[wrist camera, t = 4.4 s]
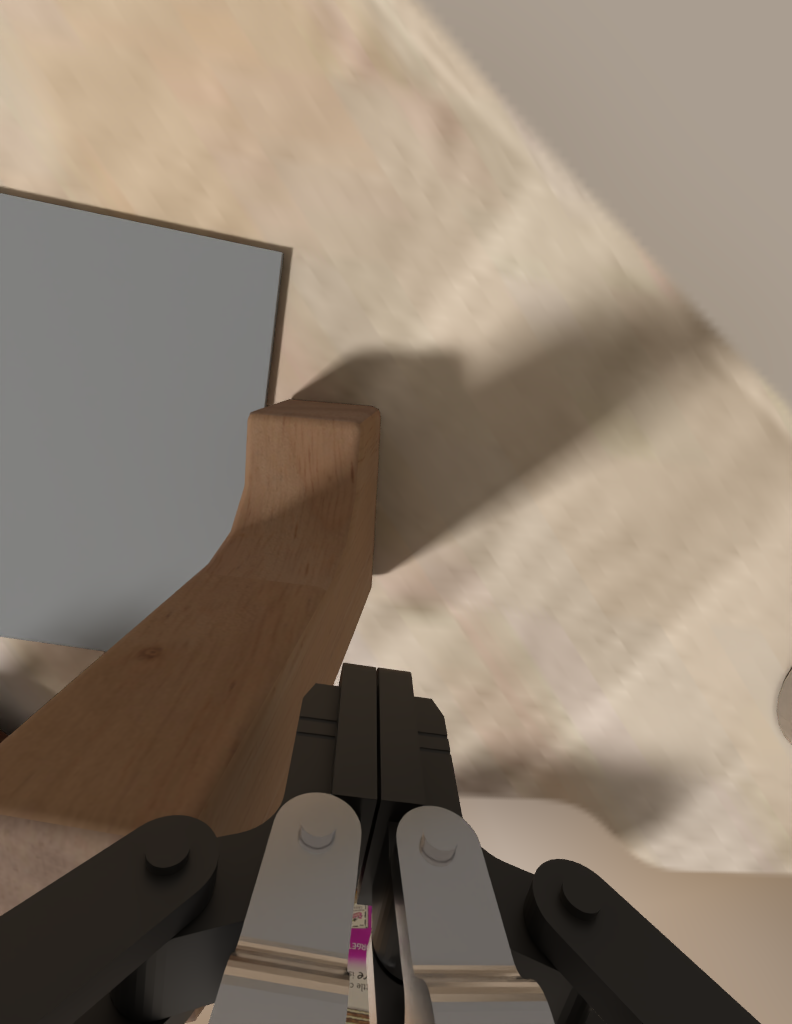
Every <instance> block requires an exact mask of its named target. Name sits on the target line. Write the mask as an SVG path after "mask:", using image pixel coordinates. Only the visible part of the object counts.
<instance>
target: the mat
mask: <svg viewBox="0 0 792 1024" xmlns="http://www.w3.org/2000/svg"><path fill="white" fill-rule="evenodd" d="M283 255H284V254H283V253H282V252H277V251H273V250H268V249H263V248H258V247H254V246H249V245H244V244H239V243H235V242H230V241H225V240H221V239H216V238H211V237H206V236H202V235H197V234H192V233H187V232H183V231H178V230H173V229H168V228H164V227H159V226H154V225H149V224H145V223H140V222H135V221H130V220H126V219H121V218H116V217H111V216H107V215H102V214H97V213H92V212H88V211H83V210H78V209H73V208H69V207H64V206H59V205H54V204H50V203H45V202H40V201H35V200H31V199H26V198H21V197H16V196H12V195H7V194H2V193H0V637H7V638H14V639H21V640H28V641H35V642H42V643H49V644H56V645H64V646H71V647H78V648H85V649H92V650H99V651H106V652H107V651H108V650H109V649H110V648H111V647H112V646H114V645H115V644H116V643H117V642H118V641H119V640H120V639H122V638H123V637H124V636H125V635H126V634H127V633H129V632H130V631H131V630H132V629H133V628H134V627H136V626H137V625H138V624H139V623H140V622H141V621H142V620H144V619H145V618H146V617H147V616H148V615H149V614H151V613H152V612H153V611H154V610H155V609H156V608H158V607H159V606H160V605H161V604H162V603H163V602H165V601H166V600H167V599H168V598H169V597H170V596H171V595H173V594H174V593H175V592H176V591H177V590H178V589H180V588H181V587H182V586H183V585H184V584H185V583H187V582H188V581H189V580H190V579H191V578H192V577H194V576H195V575H196V574H197V573H198V572H199V571H200V570H202V569H203V568H204V567H205V566H206V565H207V564H208V563H209V562H210V560H211V559H212V558H213V556H214V555H215V553H216V552H217V550H218V549H219V547H220V546H221V545H222V543H223V542H224V540H225V539H226V537H227V536H228V534H229V533H230V532H231V529H232V525H233V522H234V519H235V515H236V512H237V509H238V505H239V502H240V499H241V496H242V492H243V489H244V485H245V464H246V442H247V421H248V417H249V415H250V412H253V411H255V410H258V409H261V408H264V407H266V402H267V394H268V385H269V376H270V368H271V359H272V350H273V342H274V333H275V324H276V316H277V307H278V298H279V290H280V281H281V272H282V264H283Z"/></svg>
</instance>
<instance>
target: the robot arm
mask: <svg viewBox="0 0 792 1024" xmlns="http://www.w3.org/2000/svg"><path fill="white" fill-rule="evenodd" d="M777 715H778V722H779V726H780V728H781V730H782V732H783V734H784V736H785V738H786V739H787V740H788V741H789V742H790V743H791V744H792V669H791V671H790V673H789V674H788V676H787V678H786V679H785V681H784V683H783V686H782V688H781V691H780V694H779V697H778V706H777ZM356 889H357V904H358V905H368V906H372V930H371V934H370V938H369V942H368V947H367V952H366V966H367V984H368V1002H369V1020H370V1024H761V1023H759V1022H758V1021H757V1020H756V1019H755V1018H754V1017H753V1016H752V1015H751V1014H750V1013H749V1012H747V1011H746V1010H745V1009H744V1008H743V1007H742V1006H741V1005H740V1004H739V1003H737V1001H735V1000H734V999H733V998H732V997H731V996H730V995H729V994H728V993H727V992H725V991H724V990H723V989H722V988H721V987H720V986H719V985H718V984H717V983H716V982H715V981H714V980H712V979H711V978H710V977H709V976H708V975H707V974H706V973H705V972H704V971H702V970H701V969H700V968H699V967H698V966H697V965H696V964H695V963H694V962H693V961H692V960H690V959H689V958H688V957H687V956H686V955H685V954H684V953H683V952H682V951H680V949H678V948H677V947H676V946H675V945H674V944H673V943H672V942H671V941H670V940H669V939H667V938H666V937H665V936H664V935H663V934H662V933H661V932H660V931H659V930H658V929H656V928H655V927H654V926H653V925H652V924H651V923H650V922H649V921H648V920H647V919H646V918H644V917H643V916H642V915H641V914H640V913H639V912H638V911H637V910H636V909H635V908H633V907H632V906H631V905H630V904H629V903H628V902H627V901H626V900H625V899H624V898H623V897H621V896H620V895H619V894H618V893H617V892H616V891H615V890H614V889H613V888H612V887H610V886H609V885H608V884H607V883H606V882H605V881H604V880H603V879H602V878H600V877H599V876H598V875H597V874H596V873H594V872H593V871H591V870H590V869H588V868H587V867H585V866H583V865H581V864H579V863H576V862H573V861H569V860H565V859H555V860H550V861H547V862H545V863H543V864H542V865H541V866H540V867H539V868H538V869H537V870H536V873H535V874H532V873H529V872H527V871H524V870H522V869H520V868H517V867H515V866H513V865H510V864H508V863H505V862H503V861H501V860H499V859H497V858H495V857H494V856H492V855H491V854H489V853H488V852H487V851H486V850H484V849H483V848H482V847H481V846H480V842H479V840H478V837H477V835H476V833H475V832H474V830H473V829H472V828H471V826H470V825H469V824H468V823H467V822H466V821H465V820H464V819H463V817H462V813H461V807H460V802H459V796H458V791H457V785H456V780H455V774H454V769H453V763H452V758H451V755H450V747H449V741H448V739H447V730H446V725H445V719H444V716H443V714H442V713H441V712H440V710H439V709H438V707H437V706H436V704H435V703H434V702H433V700H432V699H428V698H421V697H414V693H413V684H412V676H411V672H406V671H399V670H392V669H385V668H378V669H377V671H376V667H370V666H363V665H356V664H349V663H343V666H342V671H341V676H340V681H339V686H333V685H326V684H318V683H315V685H314V686H313V687H312V688H311V689H310V690H309V691H308V692H307V694H306V695H305V696H304V697H303V700H302V705H301V710H300V716H299V721H298V726H297V731H296V736H295V742H294V747H293V752H292V757H291V762H290V768H289V773H288V778H287V783H286V788H285V793H284V797H283V801H282V803H281V805H280V807H279V808H278V809H277V811H276V812H275V813H274V814H273V815H272V816H271V817H270V818H269V819H268V820H267V821H265V822H264V823H263V824H261V825H259V826H257V827H256V828H253V829H251V830H248V831H245V832H241V833H237V834H231V835H226V836H221V837H216V835H215V833H214V832H213V830H212V829H211V828H210V827H209V826H208V825H207V824H206V823H204V822H203V821H201V820H199V819H197V818H194V817H191V816H185V815H170V816H164V817H160V818H156V819H154V820H152V821H149V822H147V823H145V824H143V825H142V826H140V827H138V828H137V829H135V830H134V831H132V832H130V833H129V834H127V835H126V836H124V837H123V838H121V839H120V840H118V841H116V842H115V843H113V844H112V845H110V846H109V847H107V848H106V849H104V850H102V851H101V852H99V853H98V854H96V855H95V856H93V857H92V858H90V859H88V860H87V861H85V862H84V863H82V864H81V865H79V866H78V867H76V868H74V869H73V870H71V871H70V872H68V873H67V874H65V875H64V876H62V877H60V878H59V879H57V880H56V881H54V882H53V883H51V884H50V885H48V886H46V887H45V888H43V889H42V890H40V891H39V892H37V893H36V894H34V895H32V896H31V897H29V898H28V899H26V900H25V901H23V902H22V903H20V904H18V905H17V906H15V907H14V908H12V909H11V910H9V911H8V912H6V913H4V914H3V915H1V916H0V1024H184V1023H185V1022H186V1021H187V1020H188V1019H189V1018H190V1016H191V1015H192V1013H193V1012H194V1010H195V1009H196V1008H200V1007H203V1006H206V1005H209V1004H212V1003H215V1004H214V1007H213V1010H212V1014H211V1017H210V1020H209V1024H346V1017H347V1007H348V996H349V982H350V974H349V972H348V971H347V966H348V954H349V945H350V936H351V927H352V918H353V909H354V899H355V893H356Z"/></svg>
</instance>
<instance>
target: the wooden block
mask: <svg viewBox="0 0 792 1024" xmlns="http://www.w3.org/2000/svg"><path fill="white" fill-rule="evenodd" d="M380 424H381V415H380V412H379V409H377V408H375V407H373V406H365V405H352V404H340V403H328V402H316V401H303V400H291V399H289V400H286V401H283V402H280V403H277V404H274V405H270V406H267V407H264V408H261V409H258V410H255V411H253V412H250V415H249V417H248V421H247V442H246V464H245V485H244V489H243V492H242V496H241V499H240V502H239V505H238V509H237V512H236V515H235V519H234V522H233V525H232V529H231V532H230V533H229V534H228V536H227V537H226V539H225V540H224V542H223V543H222V545H221V546H220V547H219V549H218V550H217V552H216V553H215V555H214V556H213V558H212V559H211V560H210V562H209V563H208V564H207V565H206V566H205V567H204V568H203V569H202V570H200V571H199V572H198V573H197V574H196V575H195V576H194V577H192V578H191V579H190V580H189V581H188V582H187V583H185V584H184V585H183V586H182V587H181V588H180V589H178V590H177V591H176V592H175V593H174V594H173V595H171V596H170V597H169V598H168V599H167V600H166V601H165V602H163V603H162V604H161V605H160V606H159V607H158V608H156V609H155V610H154V611H153V612H152V613H151V614H149V615H148V616H147V617H146V618H145V619H144V620H142V621H141V622H140V623H139V624H138V625H137V626H136V627H134V628H133V629H132V630H131V631H130V632H129V633H127V634H126V635H125V636H124V637H123V638H122V639H120V640H119V641H118V642H117V643H116V644H115V645H114V646H112V647H111V648H110V649H109V650H108V651H107V652H105V653H104V654H103V655H102V656H101V657H100V658H98V659H97V660H96V661H95V662H94V663H93V664H91V665H90V666H89V667H88V668H87V669H86V670H85V671H83V672H82V673H81V674H80V675H79V676H78V677H76V678H75V679H74V680H73V681H72V682H71V683H69V684H68V685H67V686H66V687H65V688H64V689H63V690H61V691H60V692H59V693H58V694H57V695H56V696H54V697H53V698H52V699H51V700H50V701H49V702H47V703H46V704H45V705H44V706H43V707H42V708H40V709H39V710H38V711H37V712H36V713H35V714H34V715H32V716H31V717H30V718H29V719H28V720H27V721H25V722H24V723H23V724H22V725H21V726H20V727H18V728H17V729H16V730H15V731H14V732H13V733H12V734H10V735H9V736H8V737H7V738H6V739H5V740H3V741H2V742H1V743H0V916H1V915H3V914H4V913H6V912H8V911H9V910H11V909H12V908H14V907H15V906H17V905H18V904H20V903H22V902H23V901H25V900H26V899H28V898H29V897H31V896H32V895H34V894H36V893H37V892H39V891H40V890H42V889H43V888H45V887H46V886H48V885H50V884H51V883H53V882H54V881H56V880H57V879H59V878H60V877H62V876H64V875H65V874H67V873H68V872H70V871H71V870H73V869H74V868H76V867H78V866H79V865H81V864H82V863H84V862H85V861H87V860H88V859H90V858H92V857H93V856H95V855H96V854H98V853H99V852H101V851H102V850H104V849H106V848H107V847H109V846H110V845H112V844H113V843H115V842H116V841H118V840H120V839H121V838H123V837H124V836H126V835H127V834H129V833H130V832H132V831H134V830H135V829H137V828H138V827H140V826H142V825H143V824H145V823H147V822H149V821H152V820H154V819H156V818H160V817H164V816H170V815H185V816H191V817H194V818H197V819H199V820H201V821H203V822H204V823H206V824H207V825H208V826H209V827H210V828H211V829H212V830H213V832H214V833H215V835H216V837H221V836H226V835H231V834H237V833H241V832H245V831H248V830H251V829H253V828H256V827H257V826H259V825H261V824H263V823H264V822H265V821H267V820H268V819H269V818H270V817H271V816H272V815H273V814H274V813H275V812H276V811H277V809H278V808H279V807H280V805H281V803H282V801H283V797H284V793H285V788H286V783H287V778H288V773H289V768H290V762H291V757H292V752H293V747H294V742H295V736H296V731H297V726H298V721H299V716H300V710H301V705H302V700H303V697H304V696H305V695H306V694H307V692H308V691H309V690H310V689H311V688H312V687H313V686H314V685H315V683H318V684H326V685H333V684H334V681H335V679H336V676H337V674H338V671H339V669H340V666H341V664H342V661H343V659H344V656H345V654H346V651H347V649H348V646H349V644H350V641H351V639H352V636H353V634H354V631H355V629H356V626H357V623H358V621H359V618H360V616H361V613H362V610H363V608H364V605H365V603H366V600H367V597H368V595H369V592H370V590H371V586H372V568H373V550H374V532H375V515H376V497H377V478H378V460H379V442H380ZM204 1007H205V1006H203V1007H200V1008H196V1009H195V1010H194V1012H193V1013H192V1015H191V1016H190V1018H189V1019H188V1020H187V1021H186V1022H185V1023H187V1022H192V1021H195V1020H196V1019H197V1017H198V1016H199V1014H200V1013H201V1011H202V1010H203V1009H204Z"/></svg>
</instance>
